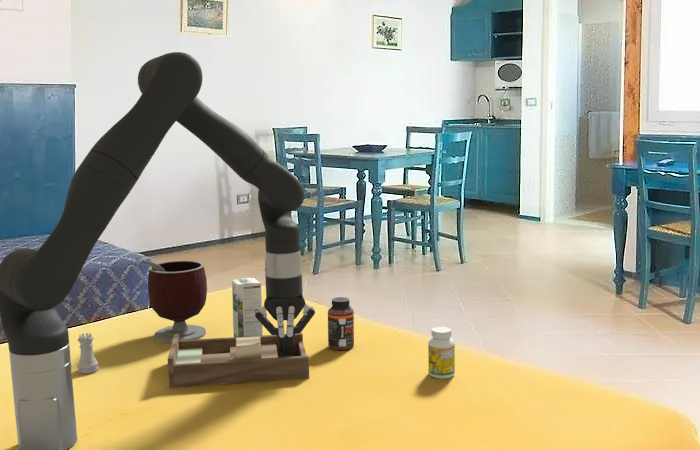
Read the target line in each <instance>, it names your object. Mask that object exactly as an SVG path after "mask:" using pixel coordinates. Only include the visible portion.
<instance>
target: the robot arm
mask: <svg viewBox="0 0 700 450" xmlns="http://www.w3.org/2000/svg"><path fill="white" fill-rule="evenodd" d="M202 84H203V70H202V68H201V65H200V63H199V61H198V60H197V59H196V58H195V57H194V56H193V55H191V54H188V53H186V52H182V51H181V52H179V51H174V52H173V51H172V52H168V53H164V54H162V55H158V56H157V57H153V58H151V59H150V60H147V61H145V63H144V64H143V65H141V67H140V68H139V72H138V75H137V85H138V89H139V91H140V93H141V94H140V96H139V98H138V100H137V101H136V103H135V104H134V105H133V106H132V107H131V109H130V110H129V111H127V113H126V114H125V115H124V116H122V118H121V119H119V120H118V121H117V122H116V123H115V124H113V126H111V127H110V128H109V129H108V130H107V131H106V132H105V133H104V134H103V135H102V136H101V137H100V138H99V139H98V140H97V141H96V142H95V143H94V145H93V146H92V147H91V148H90V150H89V152H88V153H87V154H86V155H85V157H84V158H83V160H82V161H81V163H80V164H79V166H78V167H77V168H76V170H75V173H74V174H73V175H72V178H71V181H70V184H69V186H68V190H67V194H66V198H65V203H64V206H63V207H64V208H63V211H62V214H61V216H60V218H59V220H58V222H57V224H56V226H55V227H54V229H53V230H52V232H51V233H50V234H49V235H48V237H47V238H46V240H45V241H44V242H43V243H42V245H41V246H40V247H39V248H38V249H35V248H28V247H27V248H24V247H23V248H18V249H16V250H13V251H11V252H9V253H8V254H7V255H6V256H5V257H4V258H3V259H2V260H1V262H0V322H1V327H2V330H3V331H2V332H3V334H4V336H5V337H6V340H7V344H8V353H9V362H10V373H11V382H12V384H11V385H12V394H13V404H14V405H13V406H14V416H15V424H16V425H15V426H16V434H17V444H18V446H17V447H18V450H68V449H71V447H73V446H74V445H75V444H76V443H77V441H78V434H77V433H78V430H77V421H76V419H77V418H76V408H75V398H74V397H75V395H74V385H73V383H74V382H73V372H72V362H71V359H72V358H71V347H70V346H71V345H70V337H69V329H68V326H67V325H66V324H65V322H64V321H63V319H62V317H61V316H60V314H59V311H58V308H57V306H59V305H60V304H61V303H62V302H63V301H64V300H65V299H66V298H67V297H68V296H69V294H70V293H71V291H72V289H73V287H74V286H75V283H76V281H77V279H78V278H79V276H80V274H81V272H82V270H83V267H84V265H85V264H86V262H87V260H88V258H89V257H90V254H91V252H92V250H93V249H94V247H95V246H96V243H97V242H98V240H99V239H100V237H101V236H102V234H103V233H104V231H105V230H106V229H107V227H108V225H109V223H110V222H111V221H112V219H113V218H114V216H115V215H116V213H117V211H118V209H119V208H120V207H121V205H122V204H123V203H124V201H125V200H126V199H127V198H128V196H129V194H130V193H131V191H132V190H133V189H134V186H135V185H136V184H137V182H138V180H139V179H140V177H141V175H142V174H143V172H144V170H145V169H146V167H147V166H148V164H149V163H150V161H151V159H152V157H154V155H155V152H156V151H157V150H158V148H159V147H160V145H161V143H162V141H164V138H165V137H166V135H167V134H168V132H169V130H171V128H172V126H173V125H174V124H175V123H176V122H177V123H178V124H180V125H181V126H182V127H183V128H185V129H186V130H187V131H188V132H190V133H191V134H192V135H194V136H195V137H196V138H198V139H199V140H200V141H201V142H203V144H204V145H206V146H207V147H208V148H209V149H210V150H211V151H212V152H213V153H215V154H216V155H217V156H218V158H220V159H221V160H222V161H223V162H224V163H225V164H226V165H227V166H228V167H229V168H230V169H231V170H233V172H234V173H235V174H236V175H237V176H238V177H239V178H241V179H242V180H243V181H245V182H246V183H248V184H250V185H253V186H255V187H256V188H257V189H258V191H257V201H258V206H259V212H260V216H261V220H262V224H263V228H264V231H265V237H264V239H265V240H264V241H265V257H264V258H265V260H264V273H265V274H264V275H265V278H264V279H265V298H264V302H263V305H262V308H260V309H259V310H256V311H255V317H256V318H257V319H258V320H259V322H260V323H261V324H262V327H264V328H265V330H266V331H267V332H268V333H269V335H276V336H278V337H279V350H280V352H283V354H290V351H292V350H293V336H294V335H295V334H300V333H303V330H304V329H305V328H306V326H307V325H308V324H309V322H310V321H311V320H312V318H313V317H314V316H315V314H316V311H315V308H314V307H313V306H310V305H308V304H307V303H306V301H305V300H306V299H305V298H304V295H303V265H302V264H303V261H302V255H301V239H300V238H301V237H300V234H301V233H300V227H299V225H298V224H297V223H296V221H294V220H293V218H292V214H291V212H293V211H297V210H298V209H299V208H300V207H301V206H302V205H303V203H304V200H305V190H304V187H303V185H302V183H301V181H300V180H299V179H298V178H297V177H296V176H295V175H294V174H293V173H292V172H290V171H289V170H288V169H287V168H285V167H284V166H283V165H281V164H280V163H279V162H277V161H276V160H274V159H273V158H272V157H271V156H269V154H268V153H267V152H266V151H265V150H264V149H263V148H262V147H261V146H260V144H258V142H257V141H255V139H254V138H252V136H250V135H249V134H248V133H247V132H246V131H244V130H243V129H242V128H241V127H239V126H238V125H236V124H235V123H233V122H231V121H230V120H228V119H227V118H225V117H223V116H222V115H220V114H219V113H217V112H215V111H214V110H213V109H212V108H210V107H209V106H208V105H207V104H206V103H204V102H203V101H202V99H200V98H199V97H198V94H200V91H201V88H202ZM267 312H268V313H267ZM301 312H302V314H303V315H302V316H301V318H300V319H299V320H298V322H297V323H296V324H295V325H294V322H295V319H297V318H298V316H299V315H300V313H301ZM268 314H269V315H270V316H271V318H273V320H275V321H277V322H276V323H277V324H276V325H277V327H276V326H275V325H273V323H272V322H271V321H270V320H269V319H268ZM285 321H286V330H285V324H284V322H285ZM285 331H286V333H285Z"/></svg>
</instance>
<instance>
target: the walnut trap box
mask: <svg viewBox="0 0 700 450" xmlns="http://www.w3.org/2000/svg"><path fill="white" fill-rule="evenodd" d="M248 337H260V340H261V359H246V360H237V353H236V338H248ZM170 344H171V345H170V349H169V351H168V357H167V371H168V372H167V373H168V385H169V386H168V387H169V388H183V387H184V388H188V387H199V386H212V385H213V386H216V385H226V384H227V385H228V384H243V383H255V382H256V383H258V382H273V381H285V380H287V381H288V380H289V381H290V380H303V379H310V363H309V362H310V361H309V360H310V359H309V358H310V357H309V355H307V353H306V348H305V344H304V338H303V332H301V333H300V334H295V335H294V336H293V350H292V351H290V354H283V352H280V350H279V337H278V336H276V335H271V334H262V336H245V337H234V336H233V337H232V336H231V337H217V338H215V337H214V338H213V337H212V338H200V339H196V340H180V341H179V334H174V337H173V340H172V343H170Z"/></svg>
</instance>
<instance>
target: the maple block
mask: <svg viewBox="0 0 700 450" xmlns="http://www.w3.org/2000/svg"><path fill="white" fill-rule="evenodd" d="M236 353H237V360H246V359H261V340H260V337H248V338H236Z"/></svg>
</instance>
